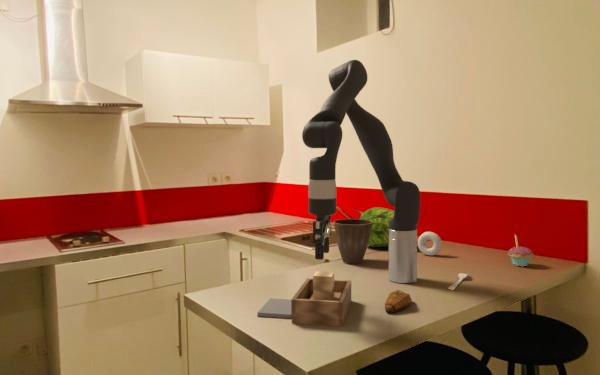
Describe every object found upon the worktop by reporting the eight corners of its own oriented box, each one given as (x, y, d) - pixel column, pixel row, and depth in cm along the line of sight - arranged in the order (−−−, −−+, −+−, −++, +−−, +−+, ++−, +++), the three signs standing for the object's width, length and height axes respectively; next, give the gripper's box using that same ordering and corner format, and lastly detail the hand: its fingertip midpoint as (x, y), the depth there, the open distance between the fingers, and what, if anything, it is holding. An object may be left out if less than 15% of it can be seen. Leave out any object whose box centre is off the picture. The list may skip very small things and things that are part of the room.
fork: (445, 298, 143) (445, 289, 142) (463, 275, 159) (463, 268, 159) (454, 299, 141) (454, 291, 141) (472, 276, 158) (471, 269, 157)
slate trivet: (300, 303, 131) (300, 300, 131) (290, 318, 119) (290, 314, 119) (270, 301, 133) (270, 298, 133) (257, 316, 121) (257, 312, 121)
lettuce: (398, 254, 192) (398, 211, 190) (350, 248, 206) (350, 208, 205) (417, 247, 206) (417, 207, 205) (371, 241, 221) (371, 204, 220)
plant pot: (369, 257, 188) (369, 218, 186) (374, 266, 173) (374, 224, 172) (333, 257, 188) (332, 219, 187) (334, 266, 173) (334, 224, 172)
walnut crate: (351, 300, 133) (351, 280, 132) (342, 326, 113) (342, 302, 113) (307, 298, 136) (307, 278, 135) (291, 322, 116) (291, 299, 116)
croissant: (400, 317, 119) (400, 298, 119) (376, 312, 123) (376, 294, 123) (419, 303, 130) (419, 286, 130) (397, 299, 134) (397, 282, 134)
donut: (442, 256, 188) (443, 232, 187) (440, 257, 185) (440, 233, 184) (419, 253, 194) (419, 230, 193) (416, 255, 191) (416, 231, 190)
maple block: (334, 296, 127) (334, 272, 126) (331, 302, 122) (331, 276, 122) (316, 295, 128) (316, 271, 128) (313, 301, 123) (313, 275, 123)
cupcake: (508, 267, 169) (508, 235, 168) (507, 262, 176) (507, 231, 176) (534, 269, 165) (535, 236, 164) (532, 263, 173) (532, 232, 172)
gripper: (332, 199, 116) (331, 262, 117) (339, 194, 129) (339, 251, 131) (303, 198, 117) (303, 261, 118) (313, 193, 131) (313, 249, 132)
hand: (322, 255), depth 124 cm, fingers open, 8 cm apart
